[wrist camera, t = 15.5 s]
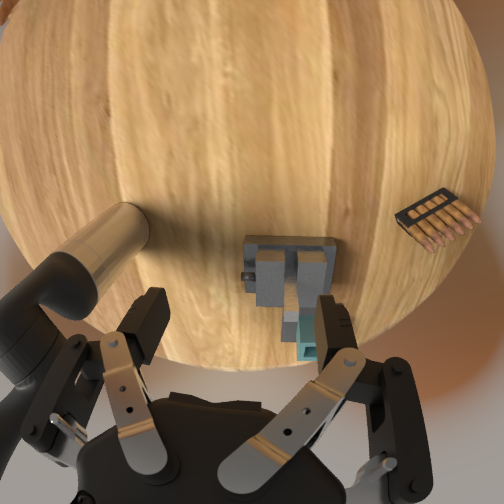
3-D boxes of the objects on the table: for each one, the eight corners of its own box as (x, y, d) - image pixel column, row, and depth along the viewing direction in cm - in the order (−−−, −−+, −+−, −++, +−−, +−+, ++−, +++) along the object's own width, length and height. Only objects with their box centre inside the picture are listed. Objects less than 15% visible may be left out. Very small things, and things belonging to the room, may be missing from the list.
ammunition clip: (443, 187, 35) (485, 214, 25) (446, 196, 36) (486, 225, 26) (394, 214, 39) (427, 250, 28) (397, 223, 40) (429, 261, 29)
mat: (280, 339, 54) (280, 341, 53) (283, 303, 49) (283, 305, 49) (332, 339, 53) (333, 341, 52) (341, 303, 48) (342, 305, 48)
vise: (246, 282, 47) (235, 338, 36) (244, 235, 43) (231, 285, 31) (327, 283, 46) (339, 340, 34) (333, 237, 42) (352, 288, 30)
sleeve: (296, 333, 52) (297, 360, 46) (298, 315, 49) (300, 342, 43) (320, 333, 51) (324, 360, 45) (324, 315, 49) (329, 342, 43)
